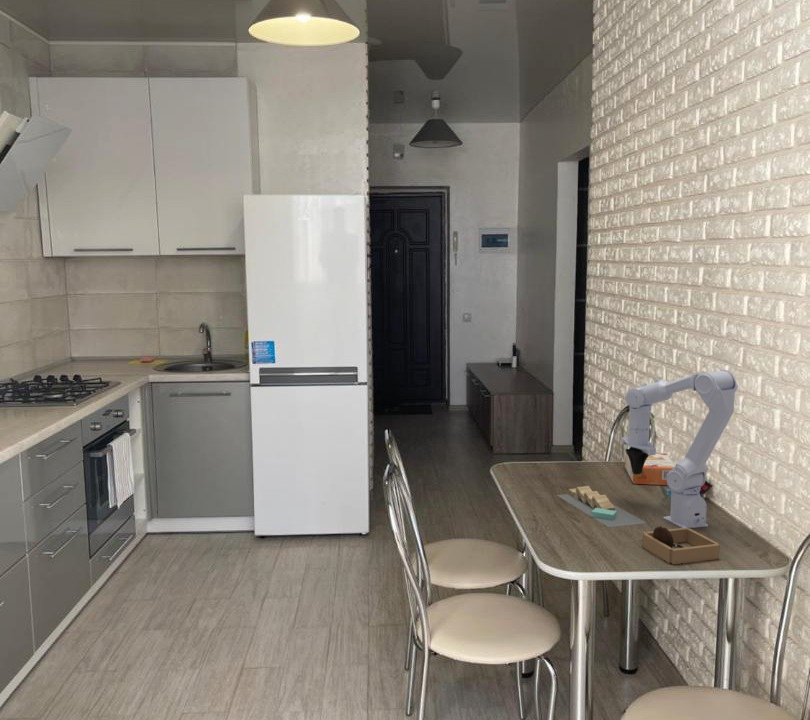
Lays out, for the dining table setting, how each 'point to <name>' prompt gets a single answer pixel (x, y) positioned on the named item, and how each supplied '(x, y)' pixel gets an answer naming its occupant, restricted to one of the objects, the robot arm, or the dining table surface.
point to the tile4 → (582, 490)
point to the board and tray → (700, 551)
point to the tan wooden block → (589, 496)
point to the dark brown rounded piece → (665, 537)
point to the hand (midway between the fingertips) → (636, 473)
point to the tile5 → (574, 494)
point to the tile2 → (602, 502)
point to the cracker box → (651, 470)
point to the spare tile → (604, 514)
